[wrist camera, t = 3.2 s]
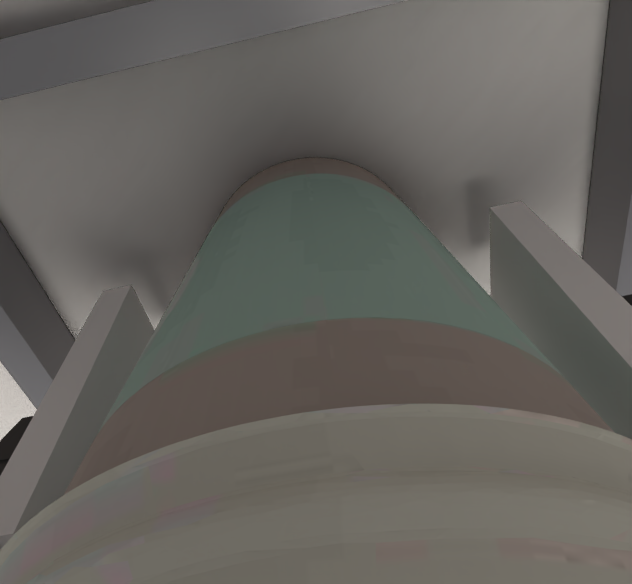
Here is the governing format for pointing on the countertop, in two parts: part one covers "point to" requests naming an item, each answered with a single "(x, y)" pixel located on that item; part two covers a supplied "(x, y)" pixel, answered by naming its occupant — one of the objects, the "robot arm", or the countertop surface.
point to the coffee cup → (337, 420)
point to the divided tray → (234, 26)
